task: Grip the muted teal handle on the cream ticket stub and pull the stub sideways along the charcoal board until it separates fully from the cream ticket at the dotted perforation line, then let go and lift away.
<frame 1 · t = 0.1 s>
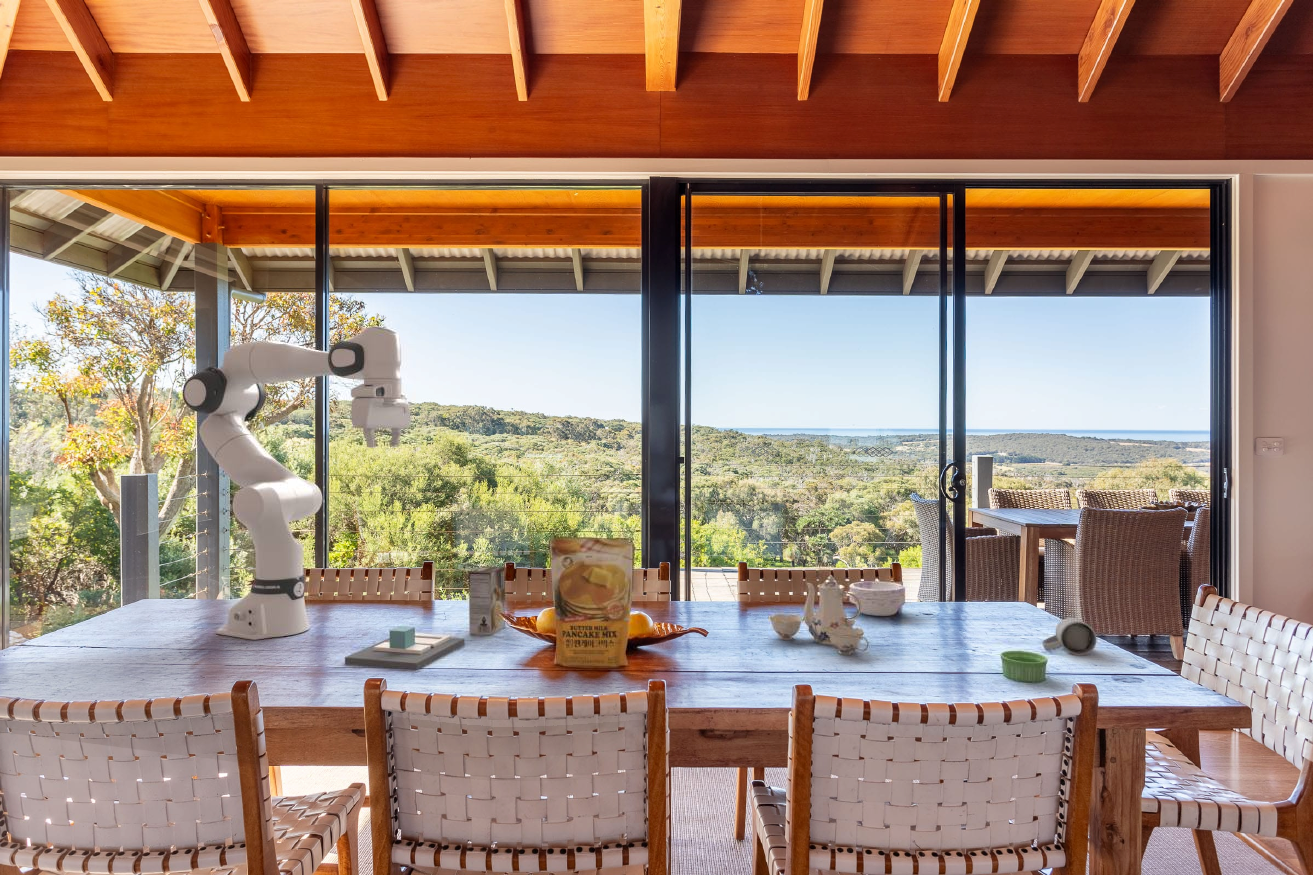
hand: (383, 447, 196), 48 cm above the table, tool pointing down, fingers open, 8 cm apart
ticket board: (408, 653, 184), on the table
chinaware: (823, 643, 192), on the table
ramekin: (1023, 678, 165), on the table
coffee box: (487, 631, 205), on the table
pancake mix bag: (591, 664, 175), on the table
ceramic mug: (1068, 651, 185), on the table
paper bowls: (877, 613, 224), on the table
stub: (402, 639, 181), point 4 cm above the table, slide at 0.0 cm
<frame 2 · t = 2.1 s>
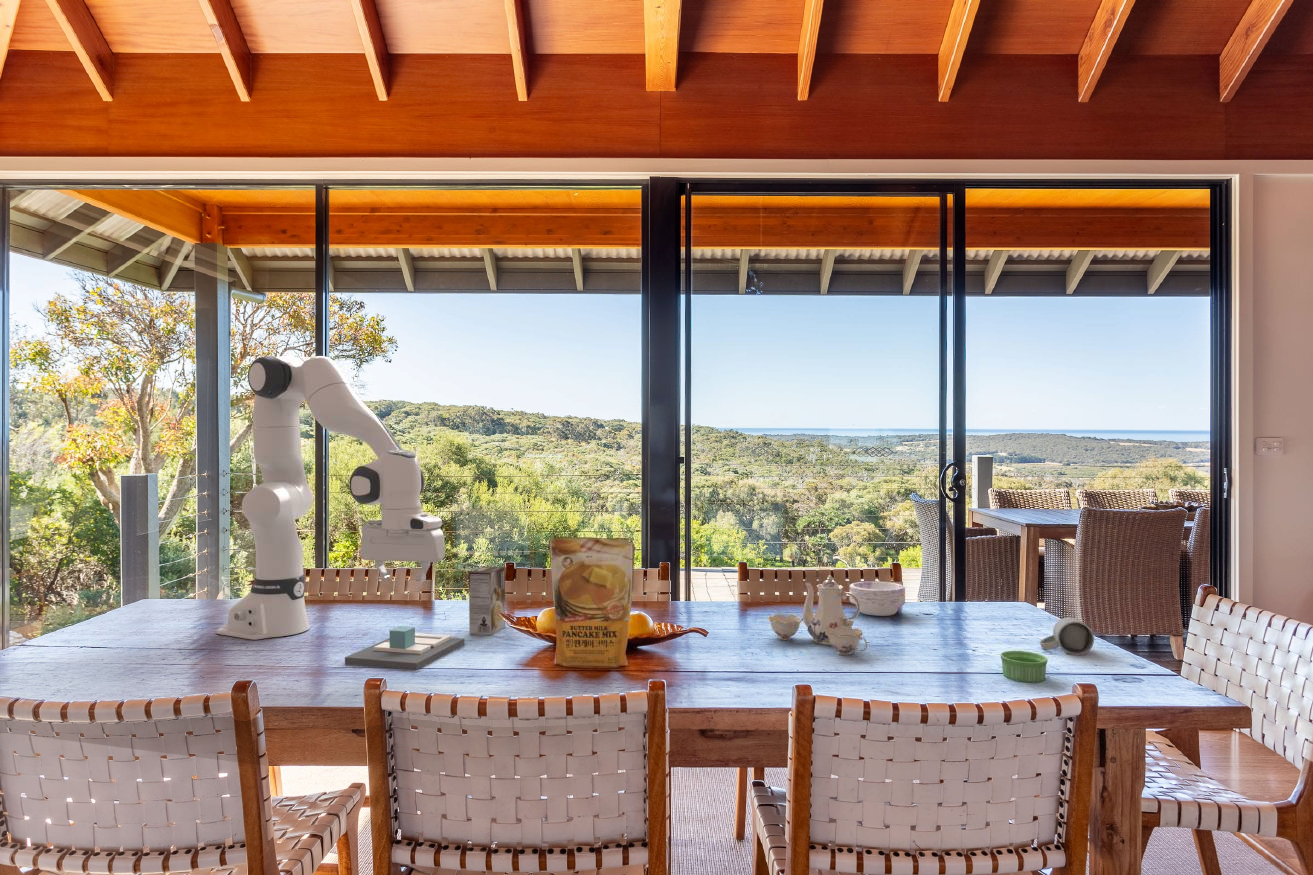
hand: (402, 580, 181), 17 cm above the table, tool pointing down, fingers open, 8 cm apart
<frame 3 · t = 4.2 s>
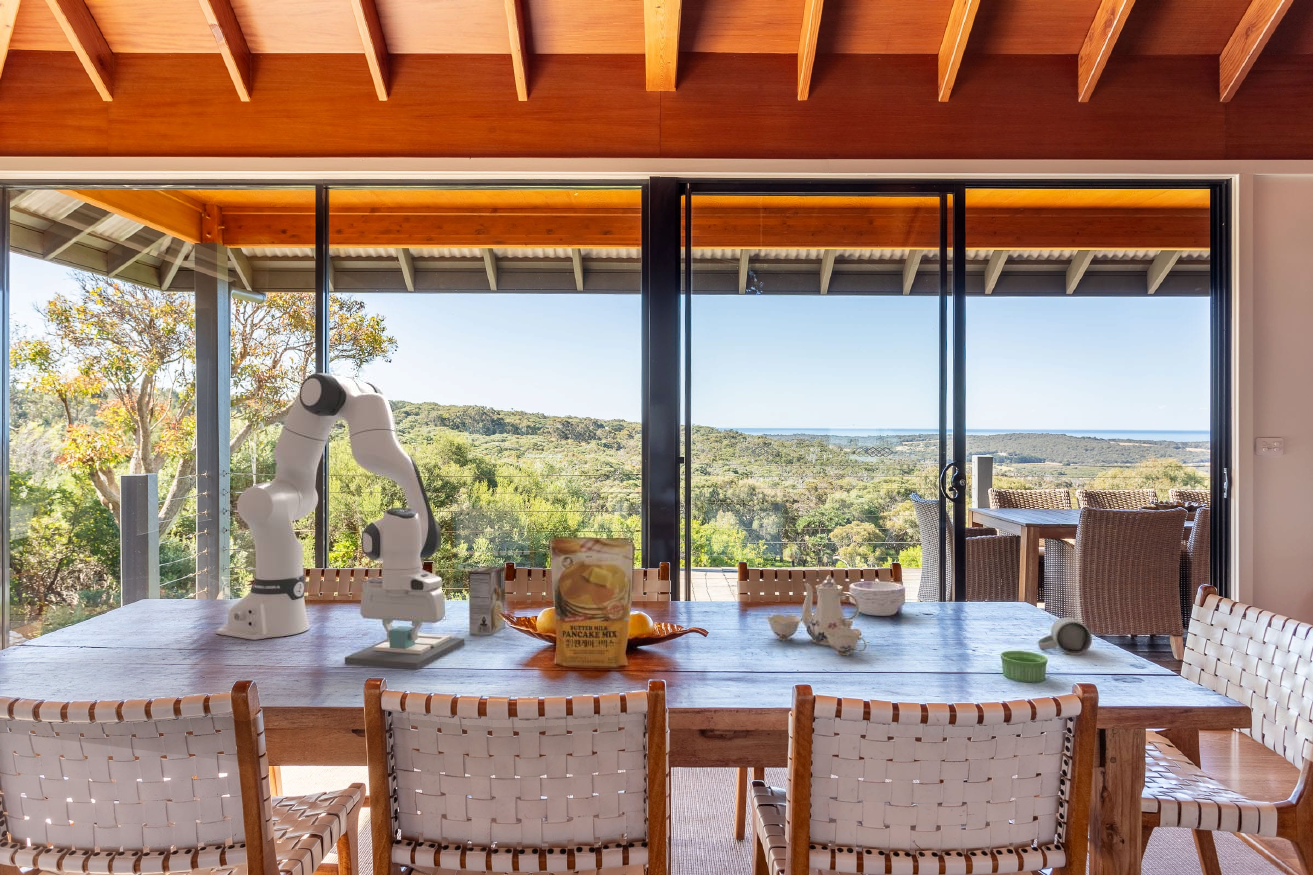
hand: (402, 639, 181), 4 cm above the table, tool pointing down, fingers closed on stub, 4 cm apart
stub: (402, 639, 181), point 4 cm above the table, slide at 0.0 cm, touching gripper
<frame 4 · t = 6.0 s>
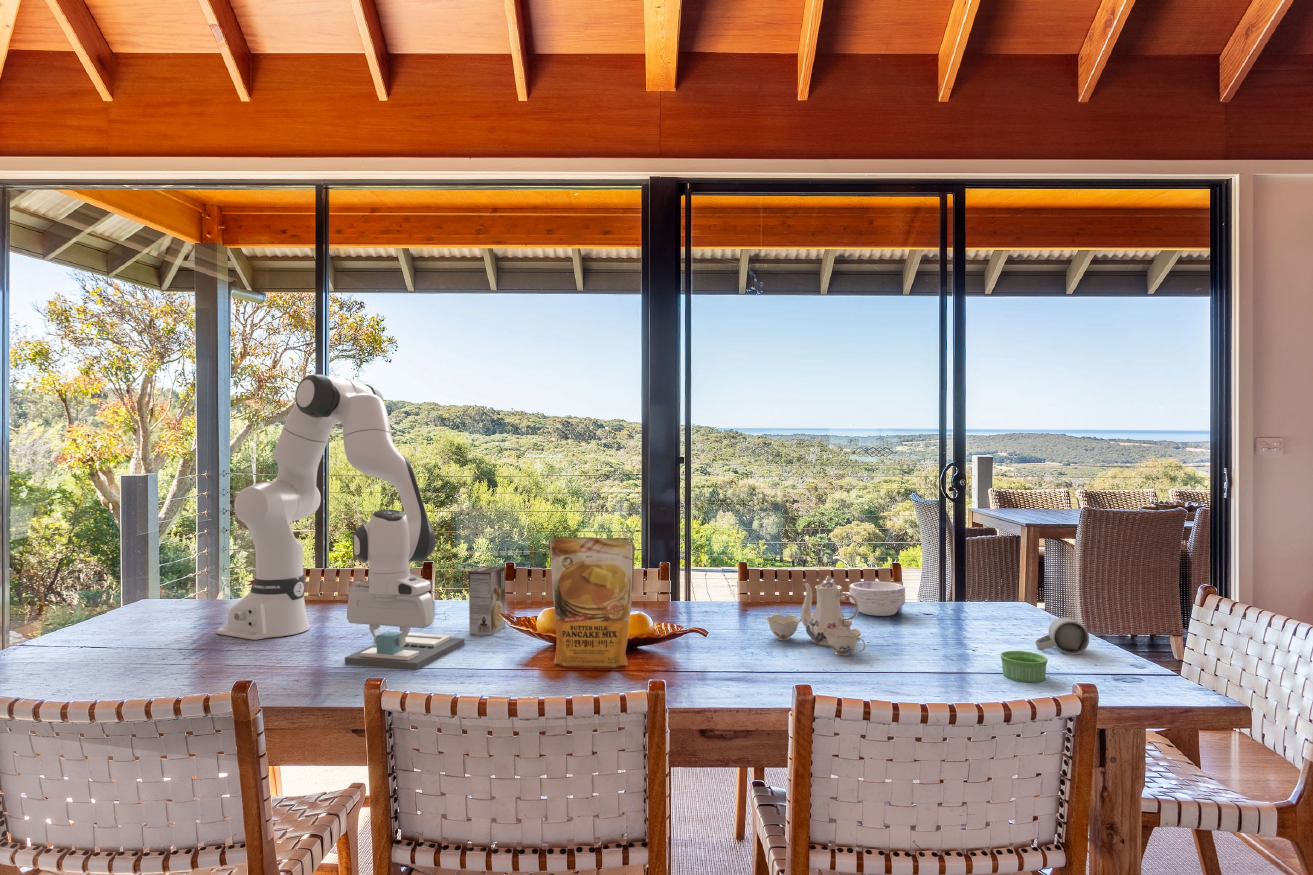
hand: (389, 644, 176), 4 cm above the table, tool pointing down, fingers closed on stub, 4 cm apart
stub: (389, 644, 176), point 4 cm above the table, slide at 4.9 cm, touching gripper
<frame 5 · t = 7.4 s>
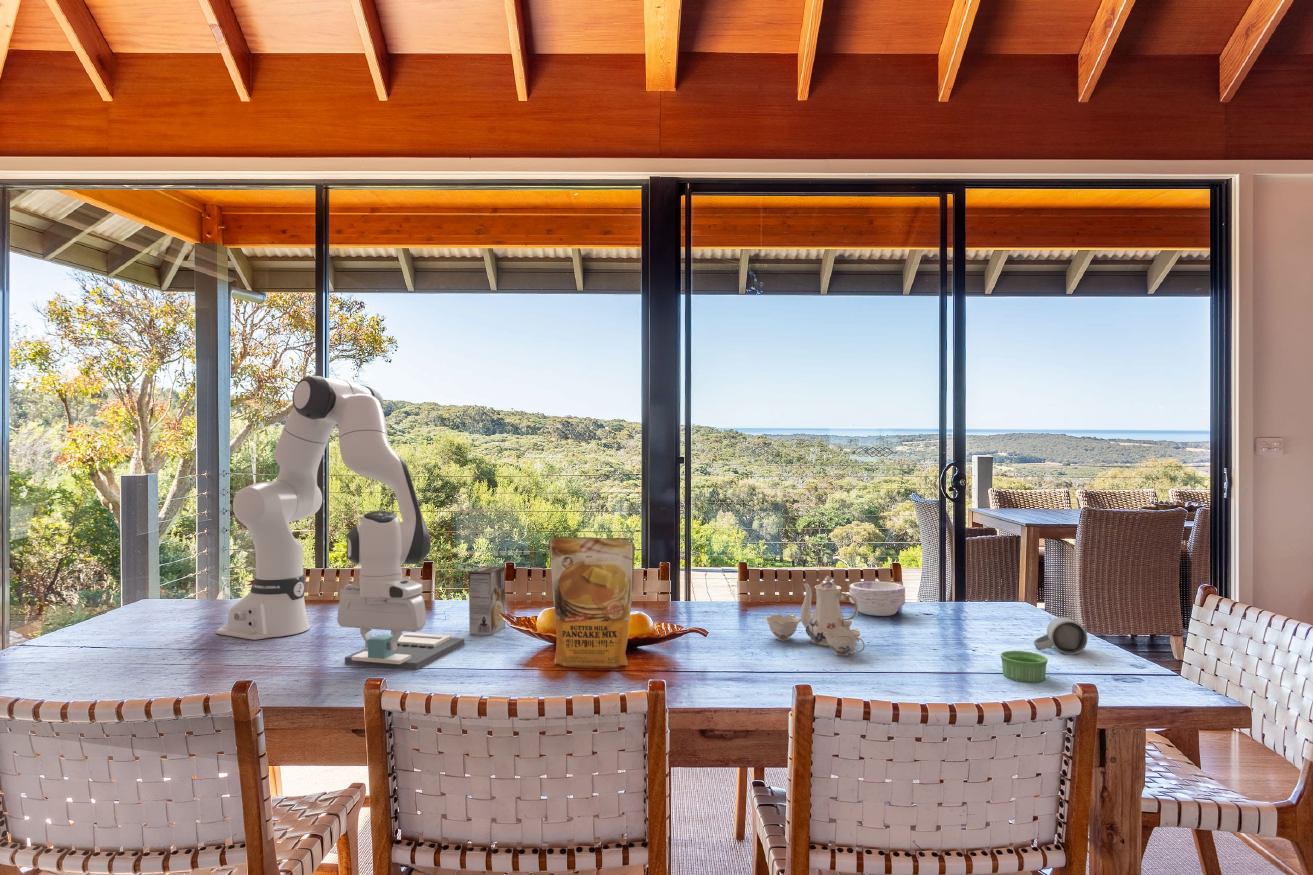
hand: (381, 648, 173), 4 cm above the table, tool pointing down, fingers closed on stub, 4 cm apart
stub: (381, 648, 173), point 4 cm above the table, slide at 8.1 cm, touching gripper
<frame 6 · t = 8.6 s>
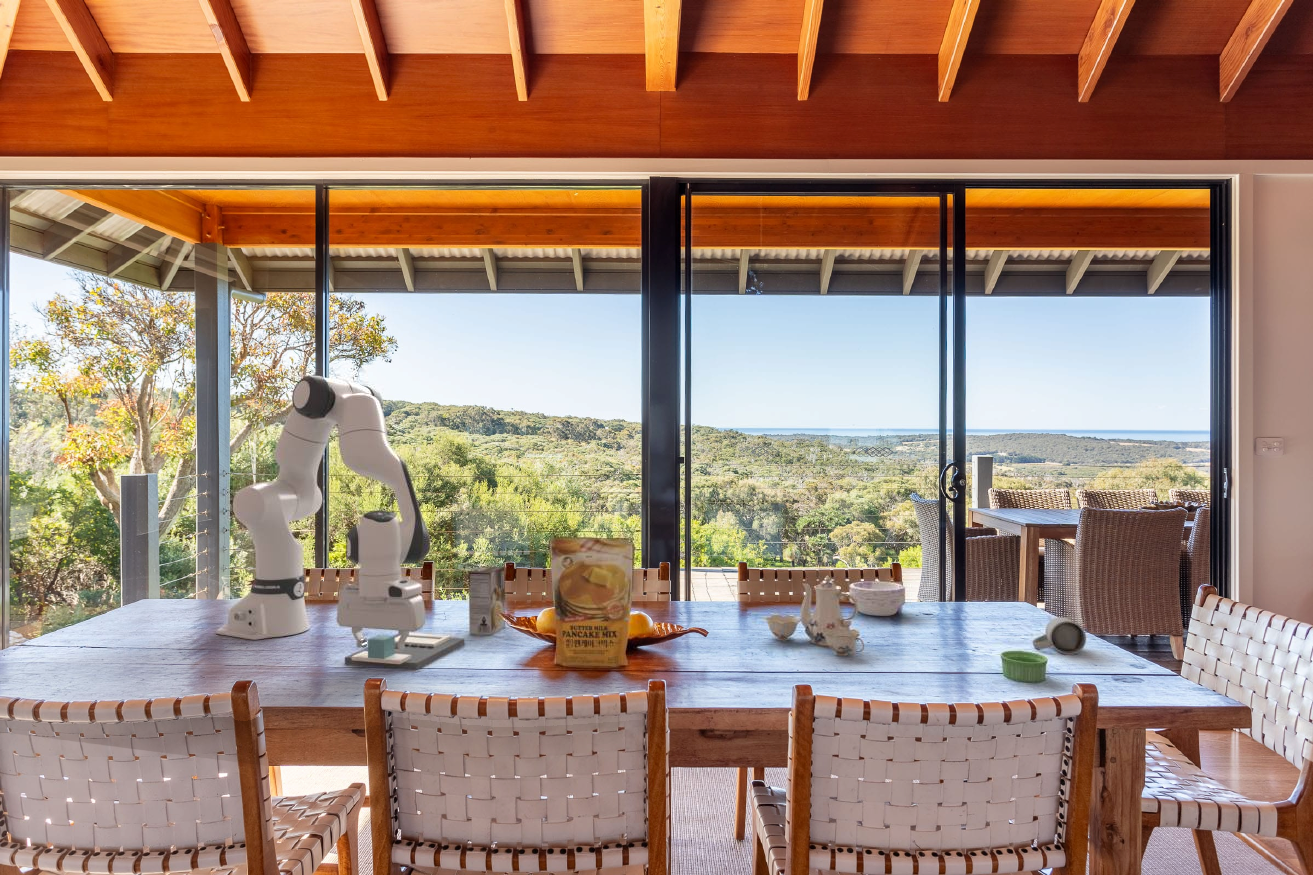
hand: (380, 648, 173), 4 cm above the table, tool pointing down, fingers open, 8 cm apart
stub: (381, 648, 173), point 4 cm above the table, slide at 8.1 cm
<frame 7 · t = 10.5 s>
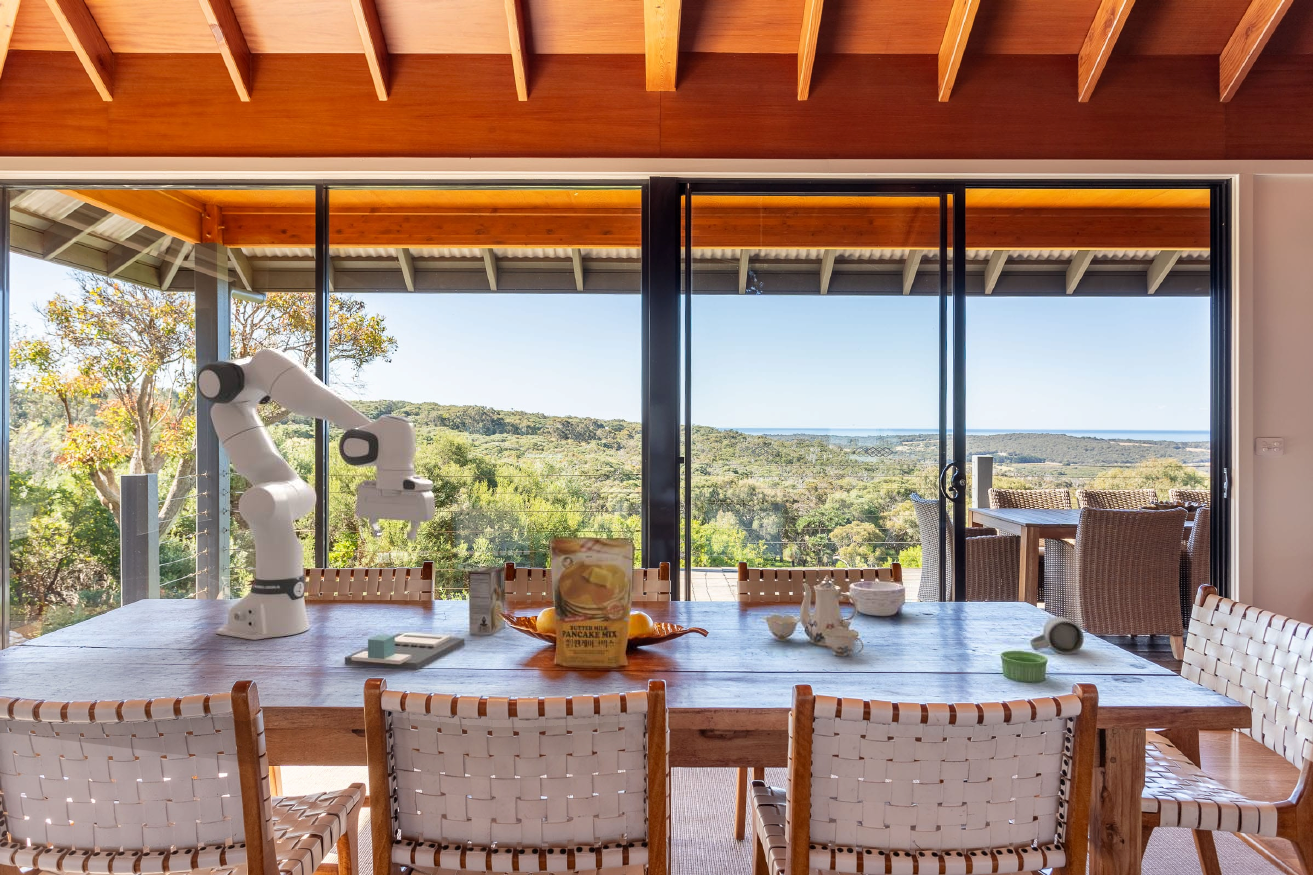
hand: (394, 538, 192), 26 cm above the table, tool pointing down, fingers open, 8 cm apart
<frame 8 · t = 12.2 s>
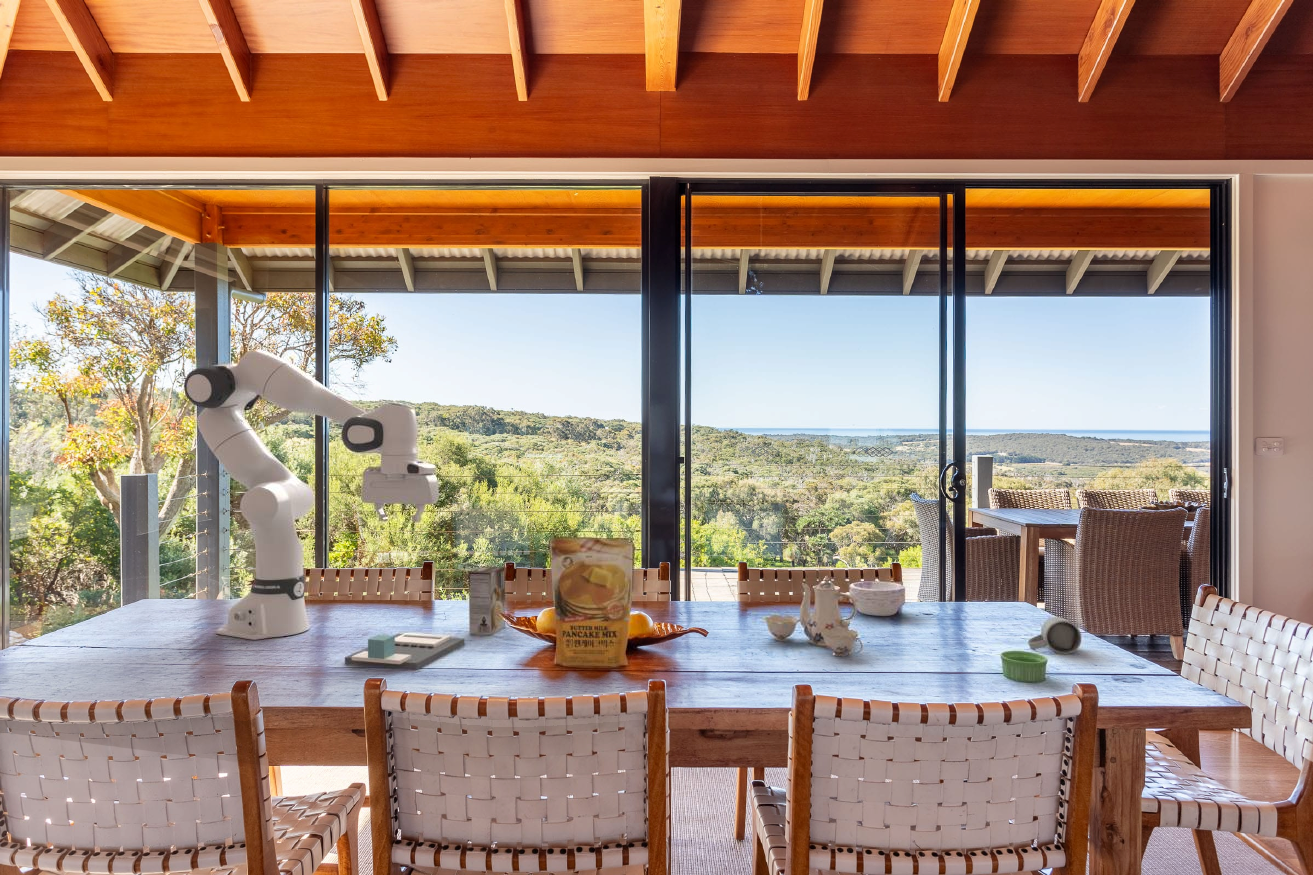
hand: (399, 521, 198), 29 cm above the table, tool pointing down, fingers open, 8 cm apart
at the end: stub slide at 8.1 cm; the gripper is holding nothing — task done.
